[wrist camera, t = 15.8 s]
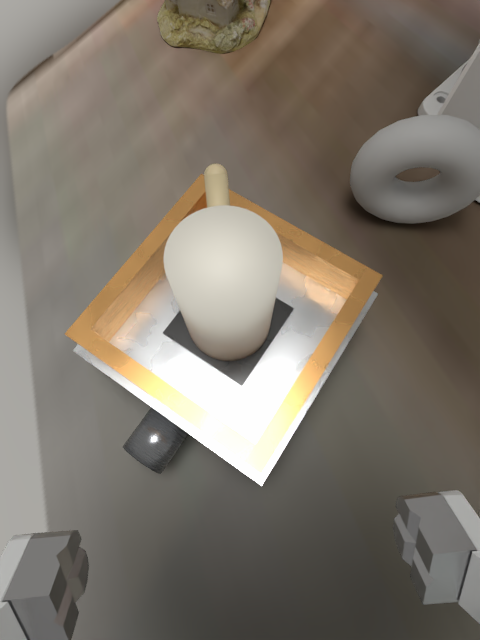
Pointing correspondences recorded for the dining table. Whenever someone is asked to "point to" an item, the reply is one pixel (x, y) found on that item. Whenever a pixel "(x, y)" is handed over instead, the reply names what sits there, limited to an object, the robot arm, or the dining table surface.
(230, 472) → the dining table surface
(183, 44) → the ceramic model
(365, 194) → the donut
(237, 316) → the spout can
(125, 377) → the white orange open box
